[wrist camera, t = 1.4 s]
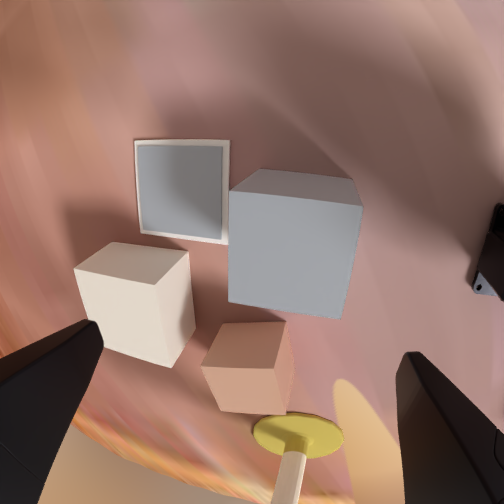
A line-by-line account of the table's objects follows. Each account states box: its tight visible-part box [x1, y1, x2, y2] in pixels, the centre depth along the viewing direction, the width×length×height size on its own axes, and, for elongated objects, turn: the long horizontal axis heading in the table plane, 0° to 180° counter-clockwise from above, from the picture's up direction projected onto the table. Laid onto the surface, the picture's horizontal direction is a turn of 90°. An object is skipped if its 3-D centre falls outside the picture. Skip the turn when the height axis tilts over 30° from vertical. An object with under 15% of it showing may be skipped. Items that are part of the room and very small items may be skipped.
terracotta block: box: [200, 321, 295, 415], centre depth 21 cm, size 5×5×5 cm
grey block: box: [228, 169, 363, 319], centre depth 16 cm, size 6×6×6 cm
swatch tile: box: [135, 139, 230, 245], centre depth 19 cm, size 7×7×1 cm
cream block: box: [73, 242, 196, 368], centre depth 21 cm, size 7×7×5 cm
